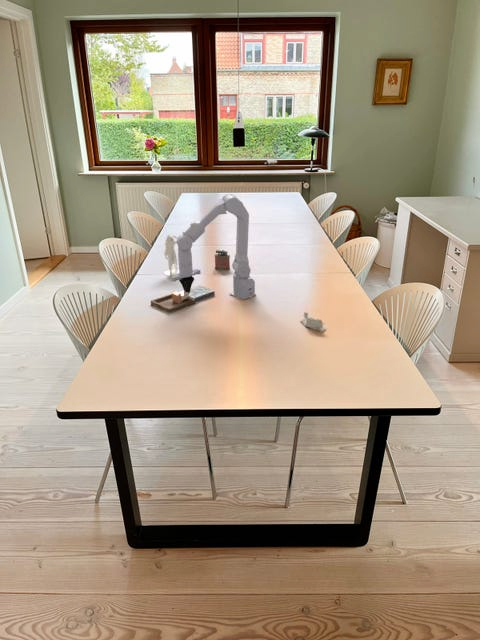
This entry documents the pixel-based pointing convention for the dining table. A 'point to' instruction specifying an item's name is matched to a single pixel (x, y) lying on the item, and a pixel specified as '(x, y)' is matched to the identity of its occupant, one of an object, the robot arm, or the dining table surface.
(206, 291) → the slate plate
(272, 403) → the dining table surface
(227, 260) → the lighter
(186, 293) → the tile
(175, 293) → the tile
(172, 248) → the female figurine
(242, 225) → the robot arm
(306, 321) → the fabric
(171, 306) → the box
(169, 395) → the dining table surface
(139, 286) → the dining table surface
